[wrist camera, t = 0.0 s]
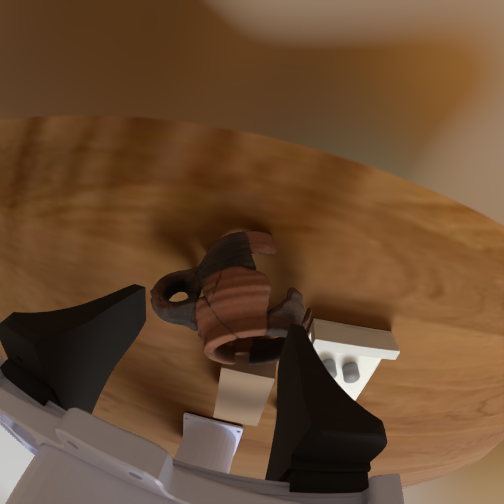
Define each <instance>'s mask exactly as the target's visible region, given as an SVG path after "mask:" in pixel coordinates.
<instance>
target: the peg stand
mask: <svg viewBox="0 0 504 504" xmlns="http://www.w3.org/2000/svg"><path fill="white" fill-rule="evenodd" d="M308 336H309V338H310V340H311V342H312V344H313V346H314V348H315V350H316V352H317V354H318V356H319V357H320V359H321V361H322V362H323V364H324V366H325V367H326V369H327V370H328V372H329V373H330V374H331V376H332V377H333V378H334V379H335V381H336V382H337V383H338V384H339V385H340V386H341V388H342V389H343V390H344V391H345V392H346V393H347V394H348V395H349V396H350V397H351V398H352V399H353V400H356V398H357V397H358V395H359V394H360V392H361V391H362V389H363V388H364V386H365V385H366V383H367V382H368V380H369V378H370V377H371V375H372V374H373V372H374V370H375V369H376V367H377V365H378V364H379V362H380V360H381V359H382V358H383V359H392V360H396V358H397V356H398V355H399V353H400V350H399V347H398V345H397V343H396V340H395V338H394V336H393V334H392V332H391V331H385V330H378V329H372V328H366V327H360V326H354V325H348V324H343V323H337V322H332V321H326V320H321V319H316V318H313V321H312V324H311V326H310V329H309V332H308ZM276 416H277V409H276ZM275 424H276V417H275ZM274 430H275V427H274Z"/></svg>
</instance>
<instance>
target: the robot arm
mask: <svg viewBox="0 0 504 504" xmlns="http://www.w3.org/2000/svg"><path fill="white" fill-rule="evenodd" d="M145 321H146V302H145V287H143V286H139V285H136V284H134V285H131V286H128V287H126V288H123V289H121V290H118V291H116V292H114V293H111V294H109V295H107V296H104V297H102V298H99V299H96V300H94V301H91V302H88V303H85V304H82V305H79V306H75V307H71V308H67V309H61V310H56V311H49V312H38V313H19V312H13V313H12V314H11V315H9V316H8V317H7V318H6V319H5V320H3V321H2V322H1V323H0V340H1V343H2V345H3V348H4V350H5V352H6V354H7V357H8V359H7V360H6V361H4V360H3V359H2V357H1V356H0V425H1V426H3V427H4V428H5V429H6V430H7V431H8V432H9V433H10V434H11V435H12V436H13V437H14V438H15V439H17V440H18V441H19V442H20V443H21V444H22V445H23V446H25V447H26V448H27V449H28V450H29V451H30V452H32V453H33V454H34V455H35V456H34V458H33V460H32V461H31V463H30V464H29V466H28V467H27V469H26V470H25V472H24V474H23V475H22V477H21V478H20V480H19V482H18V483H17V485H16V487H15V488H14V490H13V492H12V493H11V495H10V497H9V498H8V500H7V502H6V504H404V500H403V492H402V486H401V480H400V474H388V475H378V476H373V477H370V478H368V472H369V471H370V469H371V466H370V462H371V461H372V460H373V459H374V458H375V457H376V456H377V455H378V454H380V453H381V452H382V450H383V449H384V448H385V447H386V444H387V438H386V433H385V429H384V425H383V422H382V421H381V420H380V419H378V418H377V417H375V416H374V415H372V414H371V413H370V412H368V411H367V410H365V409H364V408H363V407H362V406H360V405H359V404H358V403H357V402H356V401H355V400H353V399H352V398H351V397H350V396H349V395H348V394H347V393H346V392H345V391H344V390H343V389H342V388H341V386H340V385H339V384H338V383H337V382H336V381H335V379H334V378H333V377H332V376H331V374H330V373H329V372H328V370H327V369H326V367H325V366H324V364H323V362H322V361H321V359H320V357H319V356H318V354H317V352H316V350H315V348H314V346H313V344H312V342H311V340H310V338H309V336H308V334H307V332H306V330H305V328H304V326H302V325H297V324H292V323H291V324H290V327H289V330H288V333H287V336H286V339H285V342H284V345H283V348H282V351H281V354H280V360H279V366H278V380H277V416H276V424H275V430H274V437H273V442H272V448H271V454H270V459H269V464H268V469H267V473H266V478H265V480H262V479H255V478H249V477H243V476H238V475H232V474H229V472H230V467H231V463H232V458H233V455H234V454H235V451H236V449H237V446H238V443H239V440H240V438H241V435H242V432H243V427H242V426H238V425H233V424H229V423H224V422H220V421H216V420H212V419H208V418H204V417H201V416H197V415H194V414H190V413H184V415H183V437H182V440H181V443H180V445H179V448H178V451H177V453H176V456H175V459H172V458H171V457H170V455H169V454H168V452H167V451H166V450H164V449H163V448H162V447H160V446H159V445H157V444H156V443H154V442H152V441H150V440H148V439H145V438H143V437H141V436H139V435H136V434H134V433H131V432H129V431H126V430H124V429H122V428H120V427H117V426H115V425H113V424H111V423H109V422H106V421H104V420H102V419H100V418H98V417H96V416H94V415H92V412H93V409H94V407H95V405H96V402H97V400H98V398H99V395H100V393H101V391H102V389H103V387H104V385H105V383H106V381H107V379H108V378H109V376H110V374H111V372H112V370H113V369H114V367H115V366H116V364H117V363H118V361H119V360H120V359H121V357H122V356H123V355H124V353H125V352H126V351H127V349H128V348H129V347H130V345H131V344H132V343H133V341H134V340H135V338H136V337H137V336H138V334H139V332H140V330H141V329H142V327H143V325H144V323H145Z"/></svg>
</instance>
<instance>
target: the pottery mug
mask: <svg viewBox="0 0 504 504" xmlns="http://www.w3.org/2000/svg"><path fill="white" fill-rule="evenodd" d="M276 252H277V247H276V245H275V244H274V240H273V238H272V236H271V235H270V234H267V233H264V232H257V231H246V232H237V233H233V234H229V235H227V236H224V237H222V238H220V239H218V240H217V241H216V242H214V244H213V245H212V246H211V247H210V248H209V250H208V251H207V253H206V255H205V257H204V258H203V260H202V261H201V263H200V264H199V266H198V267H194V268H192V269H190V270H183V271H177V272H173V273H170V274H168V275H166V276H164V277H162V278H161V279H160V280H159V281H158V282H157V283H156V284H155V286H154V287H153V289H152V290H151V291H150V292H151V295H152V298H151V304H152V308H153V310H154V311H155V313H156V314H157V315H158V316H159V317H160V318H161V319H163V320H165V321H167V322H170V323H173V324H179V325H184V326H187V327H189V328H190V329H192V330H194V331H197V330H198V332H199V334H198V335H199V337H200V338H201V339H202V341H204V347H203V352H204V354H205V355H206V356H207V357H208V358H209V359H211V360H213V361H216V362H220V363H224V364H230V365H233V364H235V362H236V361H235V355H244V354H250V356H249V362H248V364H249V365H260V364H267V363H272V362H276V361H279V360H280V354H281V351H282V348H283V345H284V342H285V339H286V336H287V333H288V330H289V327H290V324H291V323H292V324H297V325H302V326H304V328H305V329H306V328H307V325H308V323H309V321H310V317H311V313H312V309H311V308H308V309H307V311H306V314H305V315H304V307H303V304H302V299H303V298H302V294H301V293H300V292H299V291H298V290H297V289H295V288H293V287H291V288H289V290H288V292H287V298H286V299H284V300H283V301H282V302H281V303H280V304H279V305H278V306H277V307H276V308H274V309H272V310H271V311H269V312H267V309H268V306H269V298H270V292H271V288H272V284H271V283H270V280H269V278H268V277H267V276H266V275H265V274H264V273H261V272H259V271H256V266H255V263H254V261H253V258H252V255H251V253H260V254H269V255H275V254H276ZM201 290H203V293H204V295H205V296H204V297H200V298H199V296H200V294H201ZM178 292H185V293H187V295H188V297H189V298H187V299H186V300H183V301H179V302H171V301H169V299H170V298H171V297H172V296H173V295H174V294H176V293H178ZM264 335H269V336H279V337H278V338H275V339H257V338H255V339H253V338H252V337H253V336H264ZM228 341H231V342H232V346H228V345H223V344H224V343H226V342H228Z"/></svg>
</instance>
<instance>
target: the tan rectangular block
mask: <svg viewBox="0 0 504 504" xmlns="http://www.w3.org/2000/svg"><path fill="white" fill-rule="evenodd" d="M228 346H232V342H231V341H230V342H229V345H228ZM249 356H250V354H244V355H235V361H236V362H235V364H233V365H230V364H224V363H223V364H222V367H221V373H220V379H219V386H218V392H217V398H216V404H215V411H214V417H215V418H219V419H223V420H228V421H232V422H237V423H241V424H246V425H252V426H257V424H258V422H259V419H260V417H261V414H262V412H263V409H264V407H265V404H266V401H267V399H268V396H269V393H270V391H271V388H272V385H273V383H274V380H275V373H276V362H277V361H276V362H272V363H267V364H260V365H249V364H248V362H249Z"/></svg>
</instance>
